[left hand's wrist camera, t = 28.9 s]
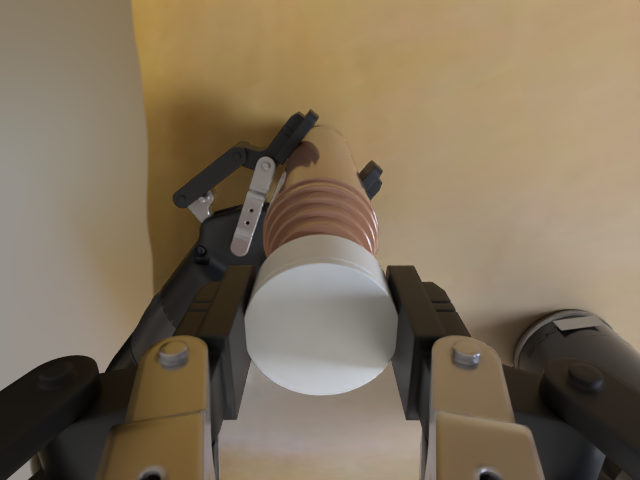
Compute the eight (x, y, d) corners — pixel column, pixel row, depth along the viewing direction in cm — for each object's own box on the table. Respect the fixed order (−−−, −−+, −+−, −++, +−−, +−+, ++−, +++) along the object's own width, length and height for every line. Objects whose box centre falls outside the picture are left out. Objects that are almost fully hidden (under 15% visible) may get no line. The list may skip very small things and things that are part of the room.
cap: (311, 371, 13) (310, 418, 11) (226, 286, 12) (209, 324, 10) (414, 304, 12) (430, 344, 10) (332, 205, 11) (334, 230, 9)
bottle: (343, 188, 34) (387, 396, 12) (287, 179, 34) (226, 375, 12) (354, 131, 32) (429, 249, 10) (295, 121, 32) (241, 221, 10)
